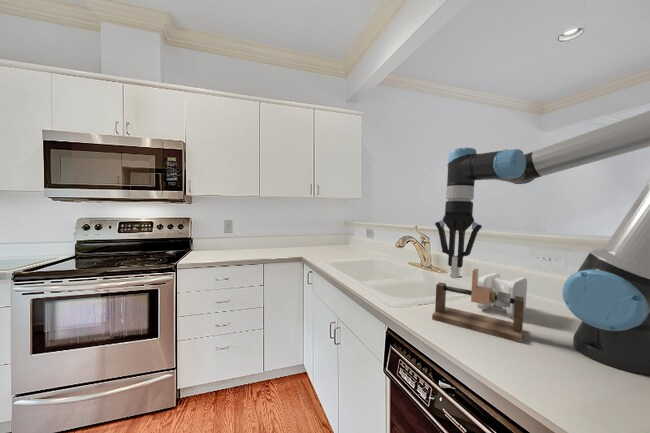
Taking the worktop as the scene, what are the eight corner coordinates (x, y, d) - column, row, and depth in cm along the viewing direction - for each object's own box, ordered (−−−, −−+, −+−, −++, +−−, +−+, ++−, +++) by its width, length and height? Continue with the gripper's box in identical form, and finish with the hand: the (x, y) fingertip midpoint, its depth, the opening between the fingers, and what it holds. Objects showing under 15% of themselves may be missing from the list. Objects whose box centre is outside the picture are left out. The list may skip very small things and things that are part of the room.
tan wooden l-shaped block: (490, 301, 79) (492, 271, 78) (489, 305, 75) (490, 273, 75) (473, 298, 81) (474, 268, 81) (471, 301, 78) (472, 270, 78)
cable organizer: (511, 321, 83) (513, 283, 82) (474, 310, 91) (476, 276, 90) (526, 311, 92) (528, 277, 92) (492, 302, 100) (493, 271, 100)
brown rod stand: (522, 329, 77) (524, 293, 76) (521, 342, 69) (523, 302, 68) (440, 310, 90) (442, 279, 90) (432, 319, 82) (433, 285, 82)
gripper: (485, 201, 81) (480, 279, 82) (440, 200, 89) (435, 271, 90) (482, 200, 75) (476, 284, 76) (433, 199, 83) (429, 275, 84)
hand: (454, 277), depth 83 cm, fingers closed
